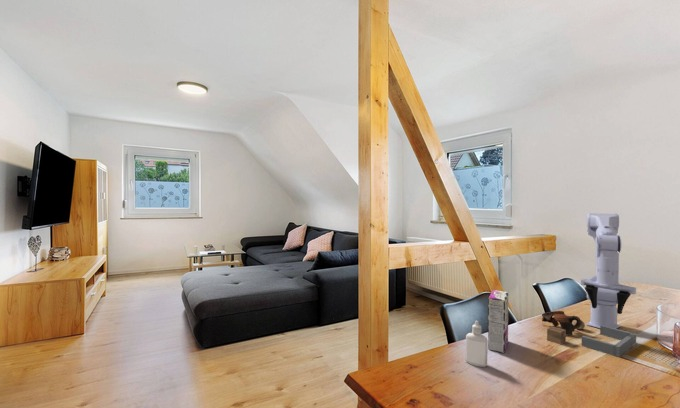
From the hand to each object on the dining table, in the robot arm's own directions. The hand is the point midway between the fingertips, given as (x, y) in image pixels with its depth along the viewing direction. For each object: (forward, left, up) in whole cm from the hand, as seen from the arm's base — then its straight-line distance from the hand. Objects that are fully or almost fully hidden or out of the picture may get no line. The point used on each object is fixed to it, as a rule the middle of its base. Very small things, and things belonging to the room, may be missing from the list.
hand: (606, 310), depth 111 cm
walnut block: (+16, -9, -10) cm, 21 cm away
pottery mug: (+5, -12, -10) cm, 16 cm away
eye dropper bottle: (+53, -15, -10) cm, 56 cm away
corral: (+4, +1, -10) cm, 11 cm away
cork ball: (-3, -9, -10) cm, 14 cm away
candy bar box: (+36, -18, -10) cm, 41 cm away
